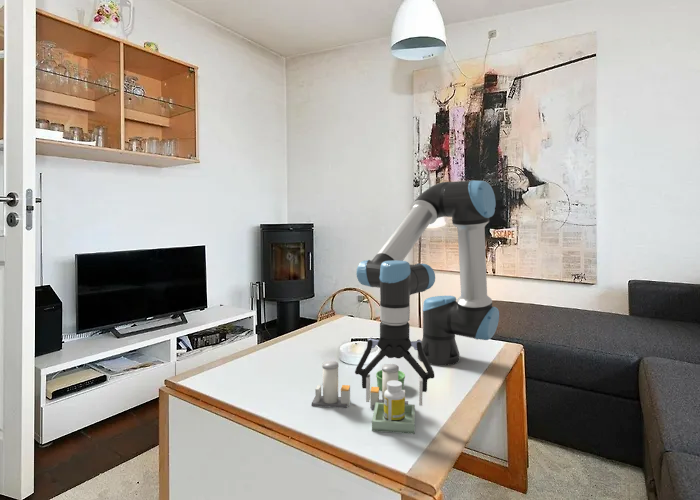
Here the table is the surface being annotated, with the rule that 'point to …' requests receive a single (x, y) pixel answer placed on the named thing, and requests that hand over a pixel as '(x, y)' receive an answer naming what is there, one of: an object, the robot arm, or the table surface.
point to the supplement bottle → (394, 402)
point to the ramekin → (379, 378)
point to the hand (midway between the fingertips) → (394, 401)
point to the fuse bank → (331, 387)
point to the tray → (393, 426)
